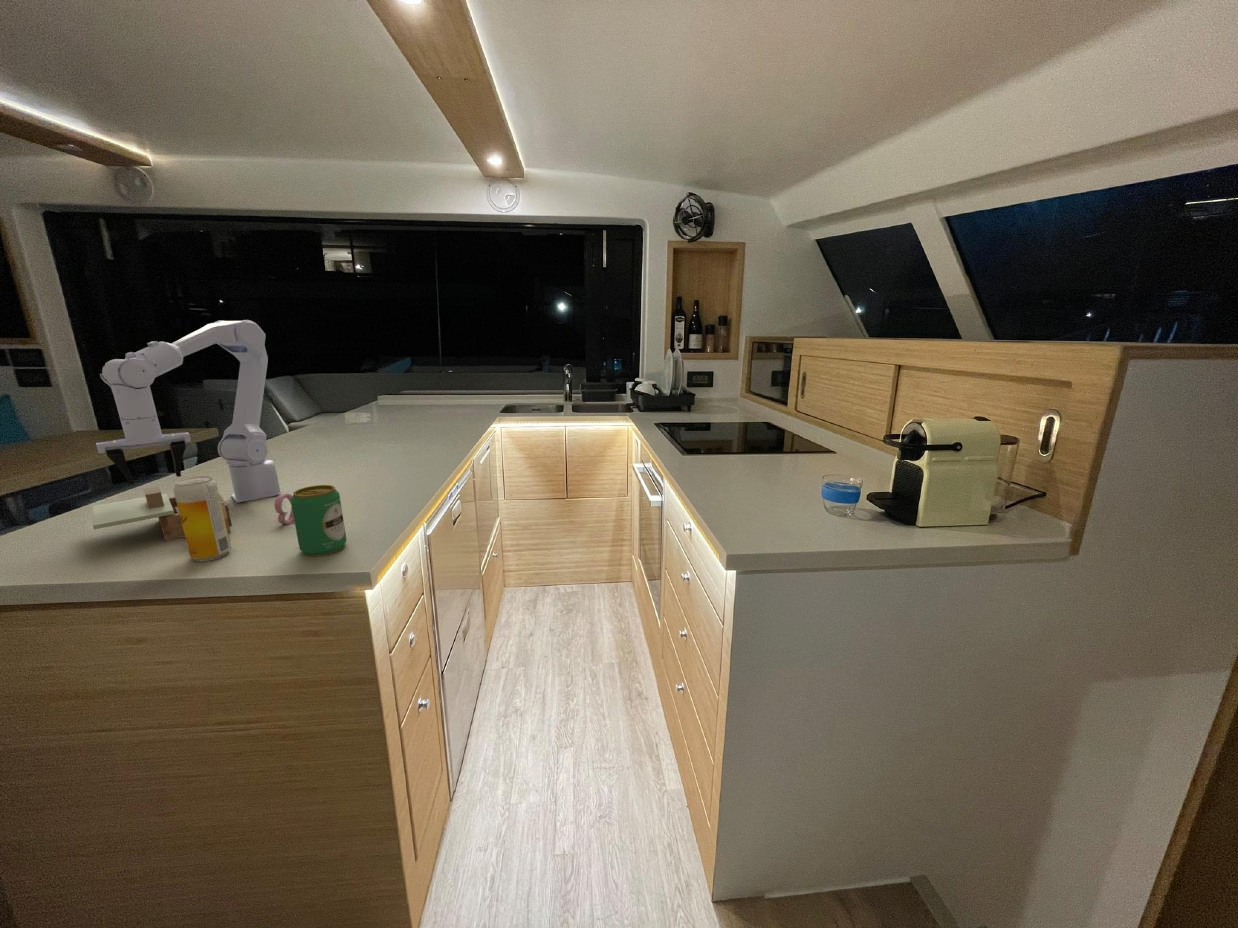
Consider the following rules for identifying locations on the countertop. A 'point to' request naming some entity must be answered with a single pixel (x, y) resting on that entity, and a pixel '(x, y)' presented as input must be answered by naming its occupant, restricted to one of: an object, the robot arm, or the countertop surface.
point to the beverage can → (318, 520)
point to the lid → (132, 509)
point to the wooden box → (179, 521)
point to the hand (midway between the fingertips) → (155, 479)
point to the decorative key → (279, 510)
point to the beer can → (202, 518)
